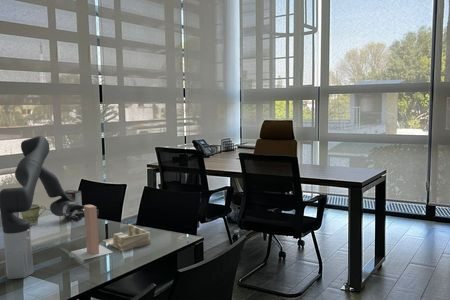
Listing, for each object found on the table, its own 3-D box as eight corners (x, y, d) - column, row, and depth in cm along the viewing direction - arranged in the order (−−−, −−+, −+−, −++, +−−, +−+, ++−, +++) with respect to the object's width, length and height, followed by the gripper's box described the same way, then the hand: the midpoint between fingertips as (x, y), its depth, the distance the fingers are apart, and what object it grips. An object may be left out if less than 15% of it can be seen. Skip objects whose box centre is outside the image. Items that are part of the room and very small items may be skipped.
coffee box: (62, 219, 246) (60, 192, 245) (69, 217, 253) (67, 190, 251) (76, 220, 244) (74, 192, 242) (83, 217, 250) (81, 190, 249)
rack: (150, 246, 193) (150, 232, 192) (121, 253, 184) (121, 239, 183) (130, 237, 208) (129, 223, 207) (102, 243, 199) (101, 229, 199)
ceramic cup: (19, 227, 233) (18, 209, 233) (22, 222, 243) (21, 205, 242) (45, 224, 237) (44, 206, 236) (47, 220, 247) (46, 203, 246)
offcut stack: (129, 245, 190) (129, 235, 189) (121, 247, 187) (120, 237, 187) (121, 241, 196) (120, 232, 196) (113, 243, 193) (112, 233, 193)
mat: (113, 255, 182) (113, 252, 182) (83, 263, 174) (83, 259, 174) (100, 248, 193) (99, 244, 193) (71, 254, 185) (70, 251, 185)
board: (99, 253, 181) (96, 206, 179) (92, 255, 179) (89, 207, 177) (93, 250, 186) (90, 204, 184) (86, 251, 184) (83, 205, 182)
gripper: (57, 205, 192) (70, 212, 179) (88, 200, 201) (102, 206, 188) (58, 222, 193) (71, 229, 180) (89, 216, 201) (103, 223, 189)
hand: (87, 217), depth 184 cm, fingers open, 8 cm apart
